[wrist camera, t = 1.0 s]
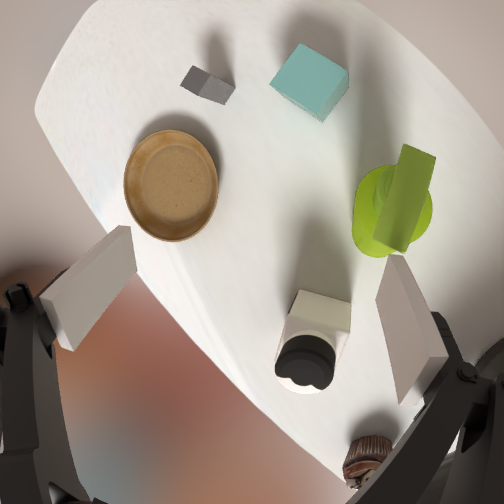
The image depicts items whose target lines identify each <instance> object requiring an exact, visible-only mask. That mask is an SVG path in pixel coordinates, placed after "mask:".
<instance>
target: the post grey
mask: <svg viewBox="0 0 504 504" xmlns="http://www.w3.org/2000/svg"><path fill="white" fill-rule="evenodd" d="M180 86H182V87H184V88H185V89H187V90H189V91H190V92H192V93H194V94H196V95H197V96H200V97H203V98H206V99H209V100H212V101H214V102H217V103H220V104H223V105H225V103H226V102H227V100H228V99H229V97H230V96H231V94H232V93H233V91H234V90H235V87H233V86H231V85H230V84H228V83H226V82H224V81H223V80H221V79H219V78H217V77H215V76H213V75H211V74H209V73H207V72H205V71H203V70H201V69H199V68H197V67H195V66H192V67H191V69H190V70H189V72H188V73H187V75H186V76H185V78H184V80H183V81H182V83H181V85H180Z"/></svg>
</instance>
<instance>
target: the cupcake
mask: <svg viewBox="0 0 504 504" xmlns="http://www.w3.org/2000/svg"><path fill="white" fill-rule="evenodd" d="M392 450H393V448H392V443H391V441H389V440H387V439H386V438H384V437H381V436H376V435H375V436H366V437H362V438H360V439H358V440H356V441H354V442H353V443H352V445H351V446H350V448H349V451H348V454H347V456H346V459H345V461H344V464H343V468H342V469H343V470H342V471H343V473H344V475H343V476H344V479H345V480H346V482H347V483H346V486H347V487H349V488H351V489H352V488H354V489H358V490H359V489H360V488H361V487H362V486H363V485H364V484H365V482H366V481H367V480H368V479H369V478H370V477H371V476H372V474H373V473H374V472H375V471H376V470H377V469H378V467H379V466H380V465H381V464H382V462H383V461H384V460H385V459H386V458H387V456H388V455H389V454H390V452H391V451H392Z"/></svg>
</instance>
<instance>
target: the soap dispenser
mask: <svg viewBox="0 0 504 504" xmlns="http://www.w3.org/2000/svg"><path fill="white" fill-rule="evenodd" d="M435 160H436V157H434V156H432V155H430V154H428V153H425V152H423V151H421V150H419V149H416V148H414V147H412V146H409V145H407V144H403V147H402V150H401V154H400V157H399V160H398V163H397V165H388V166H382V167H379V168H376V169H374V170H372V171H371V172H369V173H368V174H367V175H366V176H365V177H364V178H363V179H362V181H361V182H360V184H359V186H358V188H357V191H356V196H355V205H354V214H353V223H352V237H353V240H354V243H355V244H356V246H357V247H358V249H359V250H360V251H361V252H363V253H364V254H366V255H368V256H371V257H376V258H379V257H385V256H387V255H389V254H391V253H393V252H395V251H399V252H401V253H405V252H406V250H407V248H408V245H409V244H410V243H411V242H413V241H415V240H417V239H418V238H419V237H420V236H421V235H422V234H423V233H424V232H425V231H426V229H427V228H428V226H429V223H430V221H431V217H432V200H431V196H430V193H429V190H428V188H429V184H430V180H431V177H432V173H433V169H434V165H435Z"/></svg>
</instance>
